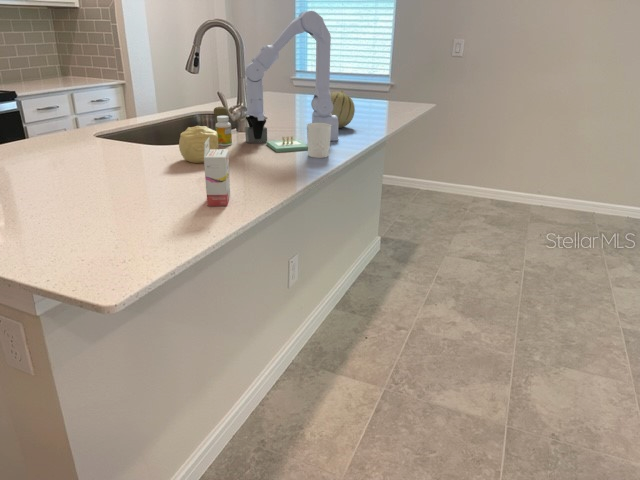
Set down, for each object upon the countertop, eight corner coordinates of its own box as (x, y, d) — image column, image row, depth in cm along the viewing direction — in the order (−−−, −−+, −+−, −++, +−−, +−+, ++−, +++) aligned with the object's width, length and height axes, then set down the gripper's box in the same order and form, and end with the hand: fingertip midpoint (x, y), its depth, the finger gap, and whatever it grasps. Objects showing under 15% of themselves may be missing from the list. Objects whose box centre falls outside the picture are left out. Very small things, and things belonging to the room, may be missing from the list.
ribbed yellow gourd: (313, 129, 204) (313, 91, 198) (326, 123, 216) (327, 87, 210) (347, 132, 199) (348, 93, 193) (358, 126, 211) (360, 89, 205)
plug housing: (264, 139, 183) (263, 126, 181) (267, 141, 180) (266, 128, 178) (245, 140, 181) (245, 127, 179) (248, 143, 177) (247, 129, 175)
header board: (298, 142, 180) (298, 132, 179) (310, 149, 170) (310, 138, 169) (266, 144, 176) (266, 134, 175) (276, 152, 166) (276, 141, 164)
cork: (226, 138, 184) (225, 108, 179) (211, 137, 185) (209, 107, 180) (232, 135, 189) (231, 106, 185) (217, 134, 190) (215, 105, 186)
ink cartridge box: (228, 206, 116) (224, 144, 110) (206, 206, 115) (202, 144, 110) (231, 195, 124) (228, 136, 118) (211, 195, 123) (206, 136, 117)
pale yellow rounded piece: (185, 167, 147) (182, 130, 143) (176, 158, 157) (173, 123, 152) (223, 163, 152) (221, 127, 147) (212, 154, 161) (209, 121, 157)
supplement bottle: (213, 144, 175) (211, 116, 171) (225, 142, 179) (224, 114, 175) (222, 146, 172) (221, 118, 168) (235, 144, 175) (233, 116, 172)
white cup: (333, 154, 165) (334, 123, 161) (326, 159, 158) (326, 128, 154) (311, 151, 167) (311, 122, 163) (303, 157, 160) (303, 126, 156)
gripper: (239, 96, 179) (240, 134, 185) (249, 102, 167) (250, 142, 172) (257, 96, 182) (259, 133, 187) (269, 101, 169) (270, 141, 175)
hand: (256, 137), depth 180 cm, fingers closed on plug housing, 4 cm apart
